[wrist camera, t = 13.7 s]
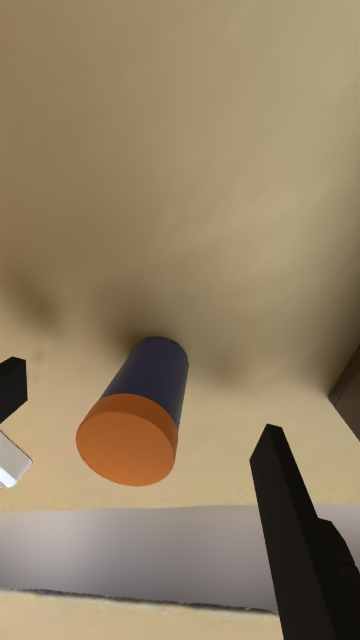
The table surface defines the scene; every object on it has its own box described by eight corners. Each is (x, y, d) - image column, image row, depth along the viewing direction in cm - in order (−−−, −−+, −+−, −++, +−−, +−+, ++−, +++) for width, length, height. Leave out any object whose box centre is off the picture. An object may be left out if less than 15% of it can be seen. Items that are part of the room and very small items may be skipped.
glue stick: (148, 324, 15) (99, 392, 8) (201, 357, 15) (195, 448, 8) (121, 368, 16) (61, 455, 10) (169, 397, 16) (143, 500, 10)
